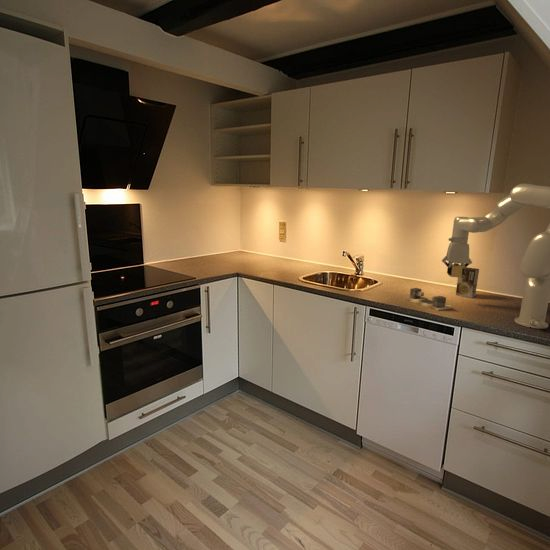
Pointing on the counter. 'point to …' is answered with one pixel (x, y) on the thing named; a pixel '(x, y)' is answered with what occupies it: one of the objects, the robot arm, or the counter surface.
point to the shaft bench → (428, 300)
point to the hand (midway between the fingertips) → (455, 274)
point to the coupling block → (456, 270)
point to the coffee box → (467, 283)
